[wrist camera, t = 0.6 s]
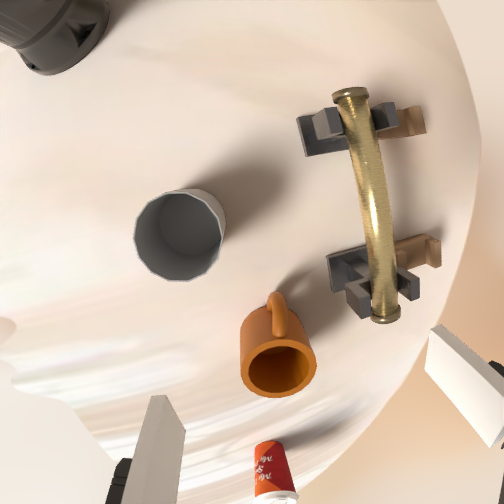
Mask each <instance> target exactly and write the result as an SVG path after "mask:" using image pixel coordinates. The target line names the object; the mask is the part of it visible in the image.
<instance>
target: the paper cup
mask: <svg viewBox="0 0 504 504" xmlns="http://www.w3.org/2000/svg"><path fill="white" fill-rule="evenodd" d="M298 497H299V495H298V494H297V493H296V491H295V487H294V484H293V480H292V477H291V473H290V469H289V466H288V462H287V459H286V455H285V452H284V448H283V446H282V444H281V443H279V442H276V441H266V442H262V443H260V444H258V445H257V446H256V447H255V498H254V500H253V502H254V504H296V503H297V499H298Z"/></svg>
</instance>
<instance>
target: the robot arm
mask: <svg viewBox="0 0 504 504" xmlns="http://www.w3.org/2000/svg"><path fill="white" fill-rule="evenodd" d="M108 19H109V8H108V5H107V4H106V2H105V1H104V0H0V42H1V43H4V44H6V45H8V46H10V47H12V48H14V49H16V51H17V52H18V54H19V55H20V57H21V58H22V60H23V61H24V62H25V64H26V65H27V67H28V68H29V69H31V70H32V71H34V72H36V73H38V74H41V75H54V74H58V73H61V72H63V71H65V70H67V69H69V68H70V67H72V66H73V65H75V64H76V63H77V62H79V61H80V60H81V59H82V58H83V57H84V56H86V55H87V54H88V53H89V52H90V50H91V49H92V48H93V47H94V46H95V45H96V43H97V42H98V40H99V39H100V37H101V36H102V34H103V32H104V30H105V28H106V26H107V23H108ZM425 371H426V372H427V373H428V374H429V375H430V377H431V378H432V379H433V380H434V381H435V382H436V383H437V385H438V386H439V387H440V388H441V389H442V391H443V392H444V393H445V394H446V395H447V396H448V398H449V399H450V400H451V401H452V402H453V403H454V405H455V406H456V407H457V408H458V409H459V411H460V412H461V413H462V414H463V415H464V417H465V418H466V419H467V420H468V421H469V423H470V424H471V425H472V426H473V428H474V429H475V430H476V431H477V433H478V434H479V435H480V436H481V438H482V439H483V440H484V442H485V443H486V444H487V445H488V447H489V448H491V447H492V446H493V445H494V444H496V443H497V442H498V441H500V440H501V439H502V437H503V436H504V367H503V366H502V365H501V364H499V363H497V362H494V361H491V362H489V363H487V362H486V361H484V360H483V359H482V358H481V357H480V356H478V354H476V353H475V352H474V351H473V350H472V349H470V348H469V347H468V346H467V345H466V344H465V343H463V342H462V341H461V340H460V339H459V338H458V337H456V336H455V335H454V334H453V333H451V332H450V331H449V330H448V329H447V328H445V327H444V326H443V325H442V324H441V325H439V326H436V327H434V328H432V329H430V336H429V344H428V351H427V357H426V363H425ZM185 432H186V430H185V428H184V427H183V425H182V423H181V421H180V420H179V418H178V416H177V414H176V413H175V411H174V409H173V407H172V405H171V403H170V401H169V400H168V398H167V396H166V395H158V396H151V399H150V403H149V406H148V409H147V412H146V415H145V419H144V422H143V425H142V428H141V432H140V435H139V439H138V442H137V445H136V449H135V452H134V456H133V459H130V458H123V459H122V460H121V461H120V462H119V464H118V465H117V466H116V469H115V472H114V478H113V479H112V482H111V484H112V485H110V489H109V492H108V495H107V499H106V503H105V504H176V502H177V493H178V485H179V477H180V469H181V461H182V454H183V446H184V439H185ZM503 448H504V443H503V444H502V447H501V449H503ZM498 504H504V476H503V482H502V488H501V493H500V498H499V503H498Z"/></svg>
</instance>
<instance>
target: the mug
mask: <svg viewBox="0 0 504 504" xmlns="http://www.w3.org/2000/svg"><path fill="white" fill-rule="evenodd" d="M240 365H241V377H242V380H243V383H244V384H245V385H246V386H247V388H248V389H249V390H250V391H252V392H254V393H256V394H257V395H260V396H264V397H268V398H282V397H286V396H290V395H293V394H295V393H297V392H299V391H301V390H302V389H303V388H304V387H306V386H307V385H308V384H309V383H310V382H311V380H312V378H313V377H314V375H315V372H316V367H317V364H316V358H315V355H314V352H313V350H312V348H311V345H310V343H309V340H308V338H307V336H306V333H305V331H304V328H303V326H302V324H301V321H300V320H299V318H298V317H297V315H296V314H295V313H293V312H292V311H291V310H289V309H287V305H286V301H285V298H284V296H283V295H282V293H280V292H277V291H275V292H272V293H271V294H270V296H269V298H268V302H267V306H266V307H262V308H259V309H257V310H255V311H253V312H252V313H250V314H249V315H248V317H247V318H246V319H245V320H244V322H243V324H242V326H241V330H240Z"/></svg>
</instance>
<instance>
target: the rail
mask: <svg viewBox="0 0 504 504" xmlns="http://www.w3.org/2000/svg"><path fill="white" fill-rule="evenodd" d="M332 98H333V101H334V103H335V104H337V105H338V108H339V112H340V115H341V119H342V123H343V127H344V131H345V135H346V139H347V143H348V147H349V151H350V156H351V160H352V165H353V170H354V175H355V180H356V185H357V190H358V195H359V201H360V207H361V213H362V219H363V226H364V233H365V240H366V248H367V256H368V265H369V274H370V285H371V297H372V307H371V314H372V316H370V318H371V320H372V321H373V322H375V323H378V324H389V323H392V322H395V321H396V320H398V319H399V318H400V316H401V307H400V305H399V304H398V287H397V269H396V255H395V244H394V234H393V225H392V217H391V210H390V203H389V196H388V190H387V184H386V178H385V173H384V168H383V163H382V158H381V153H380V148H379V144H378V140H377V135H376V131H375V127H374V123H373V119H372V115H371V112H370V108H369V105H368V101H367V98H369V94H368V91H367V88H365V87H351V88H345V89H342V90H339V91H337V92H334V93H333V94H332Z"/></svg>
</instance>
